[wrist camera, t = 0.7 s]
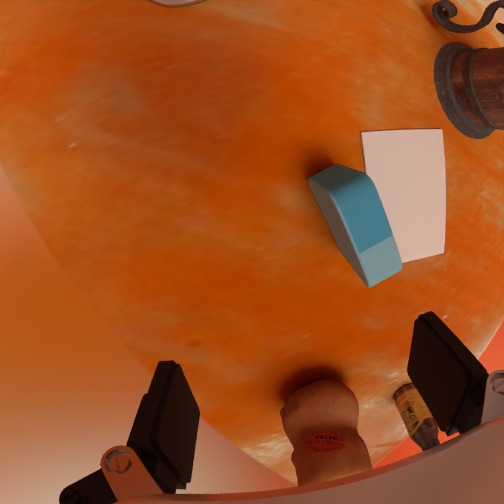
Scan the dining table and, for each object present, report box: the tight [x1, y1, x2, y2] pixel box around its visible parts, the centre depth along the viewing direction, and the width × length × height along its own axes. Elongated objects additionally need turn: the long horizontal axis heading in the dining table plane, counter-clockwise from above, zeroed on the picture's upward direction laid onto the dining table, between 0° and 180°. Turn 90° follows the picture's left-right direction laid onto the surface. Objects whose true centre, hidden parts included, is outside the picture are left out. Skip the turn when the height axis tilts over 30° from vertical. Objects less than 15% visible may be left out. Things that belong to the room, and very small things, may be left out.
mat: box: [360, 129, 446, 263], centre depth 38 cm, size 20×14×1 cm
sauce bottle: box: [394, 384, 440, 451], centre depth 45 cm, size 6×6×20 cm
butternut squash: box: [280, 379, 372, 486], centre depth 40 cm, size 14×13×25 cm
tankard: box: [432, 0, 504, 139], centre depth 21 cm, size 24×17×20 cm
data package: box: [307, 164, 402, 288], centre depth 33 cm, size 12×4×12 cm, turn 29°
